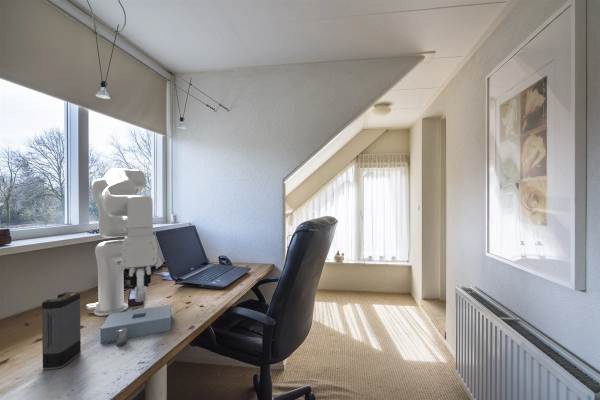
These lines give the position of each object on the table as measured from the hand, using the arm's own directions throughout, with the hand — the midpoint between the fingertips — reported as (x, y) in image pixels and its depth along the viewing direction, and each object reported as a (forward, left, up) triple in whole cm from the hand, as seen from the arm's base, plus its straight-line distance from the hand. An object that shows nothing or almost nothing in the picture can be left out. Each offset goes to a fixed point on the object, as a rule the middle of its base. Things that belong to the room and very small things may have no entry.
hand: (140, 285), depth 93 cm
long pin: (0, 0, -5) cm, 5 cm away
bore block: (-2, +16, -21) cm, 26 cm away
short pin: (-6, +5, -21) cm, 22 cm away
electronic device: (-21, +1, -21) cm, 30 cm away
